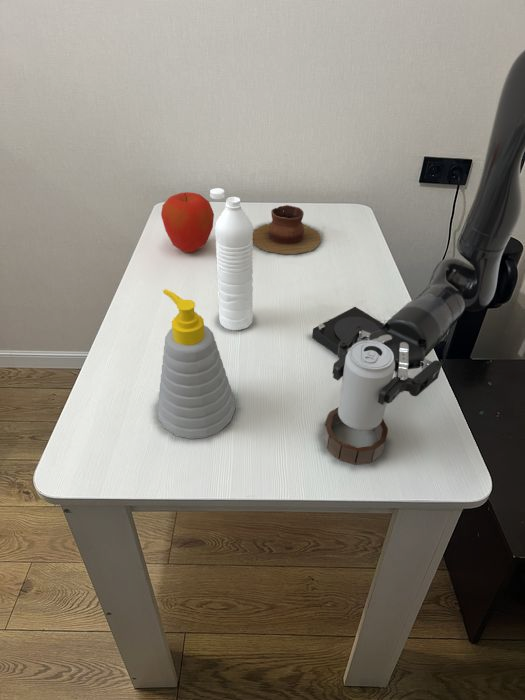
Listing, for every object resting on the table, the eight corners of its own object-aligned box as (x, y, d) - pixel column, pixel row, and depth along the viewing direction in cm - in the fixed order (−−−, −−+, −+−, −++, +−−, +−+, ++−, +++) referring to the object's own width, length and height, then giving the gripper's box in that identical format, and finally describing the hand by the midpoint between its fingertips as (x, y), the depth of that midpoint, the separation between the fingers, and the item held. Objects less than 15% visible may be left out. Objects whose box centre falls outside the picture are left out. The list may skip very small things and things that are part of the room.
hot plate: (399, 344, 92) (402, 331, 90) (357, 370, 86) (360, 357, 84) (353, 315, 98) (355, 303, 96) (311, 337, 93) (313, 325, 91)
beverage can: (386, 408, 72) (402, 345, 64) (375, 440, 67) (390, 376, 59) (345, 395, 74) (354, 332, 66) (331, 425, 69) (340, 361, 61)
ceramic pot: (261, 218, 132) (262, 192, 127) (326, 227, 128) (329, 201, 124) (241, 249, 118) (241, 222, 114) (313, 260, 115) (316, 232, 110)
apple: (208, 263, 113) (204, 205, 104) (158, 259, 114) (150, 201, 105) (220, 239, 122) (218, 183, 113) (174, 234, 124) (168, 179, 115)
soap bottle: (204, 371, 85) (195, 269, 72) (251, 411, 78) (251, 306, 65) (142, 406, 78) (120, 301, 65) (188, 453, 71) (173, 346, 58)
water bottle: (259, 322, 96) (261, 199, 80) (233, 335, 93) (230, 210, 77) (231, 302, 101) (227, 184, 85) (205, 315, 98) (197, 193, 82)
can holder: (396, 443, 73) (400, 430, 72) (355, 474, 69) (358, 461, 67) (351, 409, 79) (354, 395, 77) (311, 436, 74) (313, 423, 72)
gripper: (379, 289, 75) (315, 341, 65) (470, 327, 68) (413, 391, 58) (372, 328, 80) (311, 382, 70) (456, 367, 73) (401, 433, 63)
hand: (358, 386), depth 64 cm, fingers closed on beverage can, 6 cm apart
